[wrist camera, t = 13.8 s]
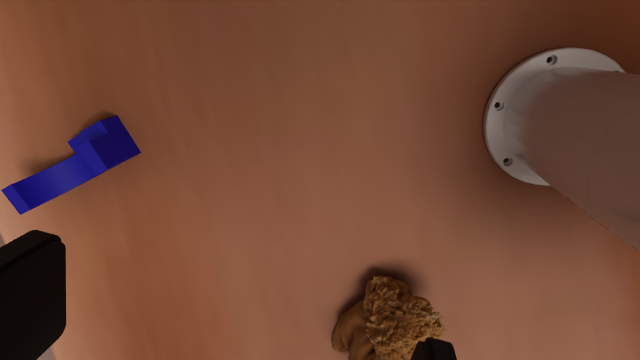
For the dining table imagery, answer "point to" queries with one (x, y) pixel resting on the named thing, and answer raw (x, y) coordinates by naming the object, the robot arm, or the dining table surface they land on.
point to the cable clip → (76, 164)
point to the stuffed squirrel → (386, 323)
